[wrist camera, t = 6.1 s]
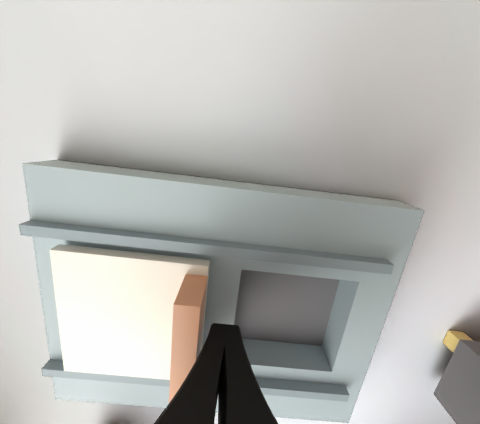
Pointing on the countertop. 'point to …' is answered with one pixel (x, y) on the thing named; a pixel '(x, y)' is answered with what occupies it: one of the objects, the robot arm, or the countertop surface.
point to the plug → (461, 379)
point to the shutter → (129, 312)
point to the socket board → (236, 273)
